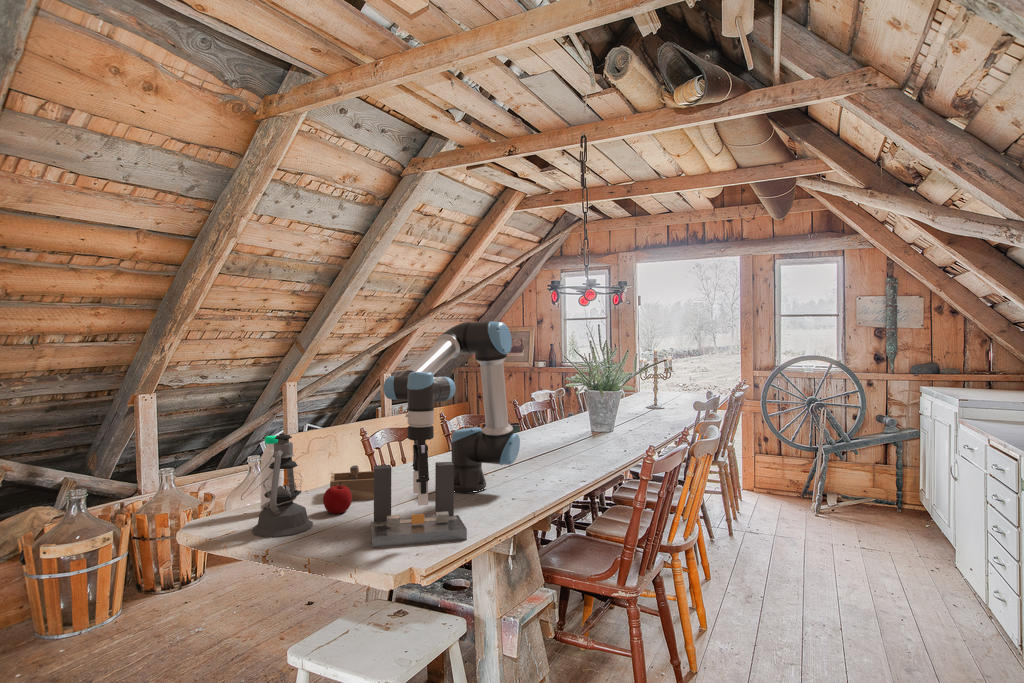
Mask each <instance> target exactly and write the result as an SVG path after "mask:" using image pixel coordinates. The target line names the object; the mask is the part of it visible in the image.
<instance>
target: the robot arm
mask: <svg viewBox="0 0 1024 683" xmlns="http://www.w3.org/2000/svg"><path fill="white" fill-rule="evenodd" d="M512 345H513V340H512V334H511V331H510V329H509V326H507V324H506V323H504V322H502V321H493V320H492V321H491V320H490V321H473V322H472V321H466V322H461V323H459V324H456V325H454V326H452V327H450V328H448V329H447V330H446V331H444V332H443V333H442V334H440V335H439V336H438V337H437V339H436V342H435V344H433V345H432V346H431V347H430V348H429V349H427V350H426V351H425V353H423V354H422V355H420V357H418V359H417V360H415V361H414V362H413V363H412V364H411V365H410V366H409V367H407V369H405V370H404V371H403V372H402V373H400V375H390V376H388V377H387V378H385V380H384V382H383V386H382V387H383V388H382V390H383V393H384V395H385V398H387V399H389V400H395V401H407V413H406V414H405V418H407V424H408V426H407V428H406V429H407V432H406V433H407V435H406V436H407V439H408V440H410V441H413V445H412V449H413V450H412V451H413V452H412V453H413V455H412V458H413V459H412V468H413V472H412V473H413V475H412V476H413V477H412V480H413V482H412V483H413V484H412V486H413V487H412V488H413V494H417V505H418V507H419V506H428V505H429V481H430V477H429V475H430V473H429V472H430V471H429V445H427V442H426V441H427V440H428V441H430V440H433V438H434V437H435V436H434V434H435V432H434V428H435V427H434V426H433V424H435V423H434V421H435V414H434V413H435V409H434V408H435V407H434V404H435V403H440V402H442V403H443V402H446V401H448V400H451V399H452V398H453V397H454V395H455V393H456V391H457V390H456V384H455V381H454V380H453V379H452V378H451V377H448V376H444V375H443V376H434V375H435V374H436V373H438V372H439V371H440V370H441V369H442V368H443V367H444V366H445V365H446V363H448V362H449V361H450V360H452V359H456V358H457V357H458V356H459V355H464V354H465V355H466V354H473V355H474V358H475V359H474V360H475V361H476V362H477V363H478V364H479V368H480V379H481V388H482V390H481V391H482V398H483V400H482V401H483V410H484V411H483V413H484V421H485V422H484V423H485V424H484V425H485V426H484V427H483V428H482V427H478V426H475V427H473V426H472V427H465V428H461V429H460V428H459V429H456V430H454V431H453V432H452V433H451V442H450V443H451V462H452V463H453V464H454V491H455V492H454V493H456V492H473V491H479V490H482V489H484V488H485V487H486V488H487V481H486V478H485V473H484V472H483V468H482V467H483V466H482V464H491V465H492V464H493V465H500V466H503V465H512V464H514V463H515V462H516V460H517V457H518V455H519V452H520V448H521V447H520V446H521V440H520V436H519V434H518V433H514V427H513V425H511V424H510V423H509V414H508V401H507V391H506V379H505V367H504V362H505V360H506V359H507V358H508V354H509V353H511V350H512Z"/></svg>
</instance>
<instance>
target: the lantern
mask: <svg viewBox="0 0 1024 683" xmlns="http://www.w3.org/2000/svg"><path fill="white" fill-rule="evenodd" d="M283 430H286V428H282V429H281V431H283ZM275 439H278V442H277V443H275V444H274V454H273V455H272V457H273V458H275V461H274V462H272V463H271V464H270V466H269V468H270V469H274V471H273V472H272V473H273V479H272V478H269V479H272V487H270V488H271V491H267V490H266V491H267V492H266V493H265V494H264V496H265V497H266V498H270V501H269V502H267V503H265V504H264V505H262V506H261V505H260V506H259V508H260V507H262V508H263V510H262V511H260V512H259V515H258V521H257V524H256V525H254V526H253V527H252V529H251V532H252V535H253V536H256V537H259V536H261V537H260V538H269V537H272V538H284V536H285V537H290V536H291V537H292V536H296V535H299V534H302V533H305V532H308V531H309V530H311V529H312V527H313V525H314V523H313V521H311V520H310V519H309V517H308V516H309V515H308V514H307V508H306V507H305V506H303V505H301V504H300V503H299V504H298V503H296V502H294V501H295V500H296V499H297V498H298V496H299V495H300V494H302V488H301V487H302V484H303V482H302V481H303V479H302V478H303V476H302V475H301V473H300V472H297V471H295V472H294V468H296V467H298V464H297V462H296V461H294V460H293V457H295V455H294V442H291V441H290V439H293V436H292V435H290V434H286V432H282V433H281V434H279V435H276V437H275ZM272 457H271V459H272ZM271 459H270V461H271ZM269 463H270V462H269ZM269 463H268V464H269ZM268 464H267V465H268ZM267 465H266V466H267ZM266 466H265V467H266ZM265 467H264V468H265ZM264 468H263V469H264ZM263 469H262V470H263ZM280 469H284V470H280ZM262 470H261V469H260V471H259V473H258V474H257V475H256V476H255V477H254V479H253V480H252V482H251V483H250V484H249V486H248V487H247V488H246V489H245V491H243V493H242V494H241V496H240V500H241V501H243V500H244V499H246V498H247V497H248V496H249V495H251V494H253V492H254V491H255V490H257V489H258V488H259V487H261V484H262V483H263V482H264V483H265V481H266V480H268V477H269V476H270V475H271V474H272V473H271V474H270V475H269V476H268V477H267V478H266V479H265V480H264V481H263V482H262V483H261V482H260V484H259V485H258V486H257V487H255V488H254V489H253V490H252V491H251V492H249V493H248V494H246V496H244V494H245V493H246V492H247V491H249V489H250V488H251V486H252V485H253V483H254V482H255V481H256V480H257V478H258V476H259V475H261V471H262ZM280 471H284V472H286V473H287V477H286V479H287V481H288V482H287V483H286V484H283V486H279V487H278V482H279V473H280ZM294 473H297V474H299V476H300V478H301V479H300V478H295V475H294ZM271 476H272V475H271ZM271 476H270V477H271ZM296 480H299V481H300V483H299V484H298V486H297V483H296V482H295V481H296ZM264 483H263V486H264V488H265V485H264ZM298 487H299V489H300V490H298V489H297V488H298ZM265 489H266V488H265ZM243 496H244V497H243Z"/></svg>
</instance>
